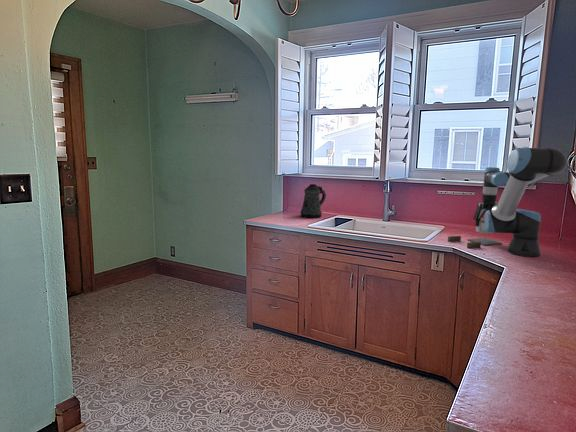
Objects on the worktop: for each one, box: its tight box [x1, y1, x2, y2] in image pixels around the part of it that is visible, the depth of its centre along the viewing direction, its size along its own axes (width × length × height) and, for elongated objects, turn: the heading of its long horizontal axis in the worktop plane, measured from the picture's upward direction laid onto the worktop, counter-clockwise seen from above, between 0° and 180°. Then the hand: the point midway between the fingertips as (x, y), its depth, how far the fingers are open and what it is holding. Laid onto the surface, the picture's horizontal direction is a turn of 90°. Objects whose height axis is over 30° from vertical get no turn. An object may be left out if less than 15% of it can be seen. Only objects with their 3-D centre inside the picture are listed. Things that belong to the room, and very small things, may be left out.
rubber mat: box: [467, 237, 503, 247], centre depth 235 cm, size 13×13×1 cm
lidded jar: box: [478, 217, 493, 235], centre depth 234 cm, size 11×11×9 cm
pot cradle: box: [447, 235, 482, 250], centre depth 229 cm, size 17×8×3 cm, turn 18°
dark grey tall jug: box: [300, 183, 327, 219], centre depth 308 cm, size 16×19×25 cm
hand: (485, 231), depth 234 cm, fingers closed on lidded jar, 11 cm apart
